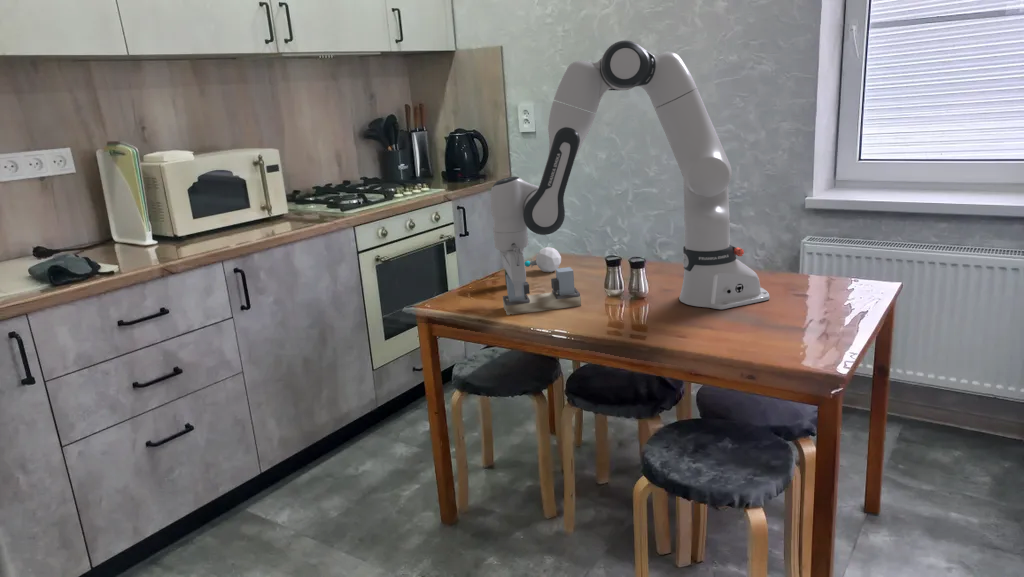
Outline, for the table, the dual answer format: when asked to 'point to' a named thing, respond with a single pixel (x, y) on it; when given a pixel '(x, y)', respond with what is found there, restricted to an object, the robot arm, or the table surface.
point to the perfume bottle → (546, 260)
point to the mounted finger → (563, 281)
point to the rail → (541, 302)
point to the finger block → (511, 290)
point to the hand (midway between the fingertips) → (515, 290)
